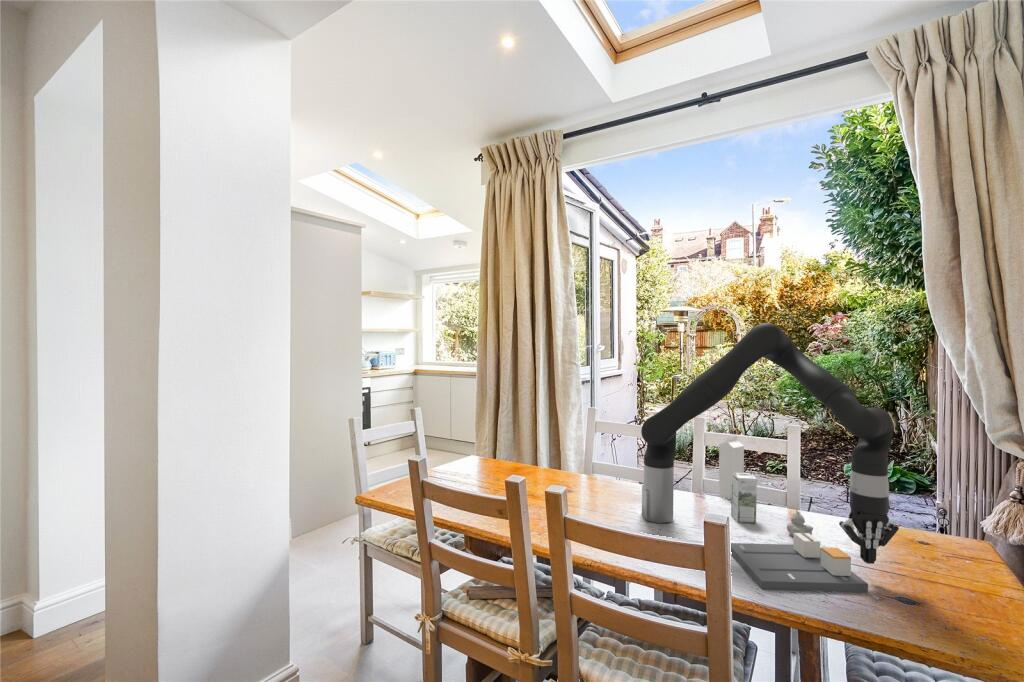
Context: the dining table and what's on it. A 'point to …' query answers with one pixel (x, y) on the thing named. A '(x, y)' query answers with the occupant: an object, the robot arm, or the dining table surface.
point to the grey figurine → (798, 524)
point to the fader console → (790, 569)
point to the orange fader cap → (835, 561)
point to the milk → (729, 464)
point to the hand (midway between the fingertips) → (868, 562)
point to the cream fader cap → (806, 545)
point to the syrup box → (744, 497)
